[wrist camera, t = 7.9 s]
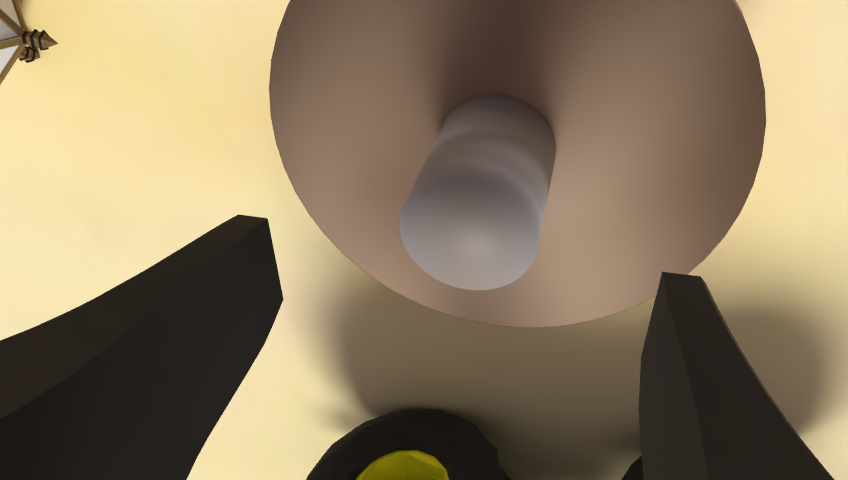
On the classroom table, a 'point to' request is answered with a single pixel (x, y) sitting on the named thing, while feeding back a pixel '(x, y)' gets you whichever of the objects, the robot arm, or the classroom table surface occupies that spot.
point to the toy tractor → (418, 451)
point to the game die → (18, 38)
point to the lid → (519, 145)
